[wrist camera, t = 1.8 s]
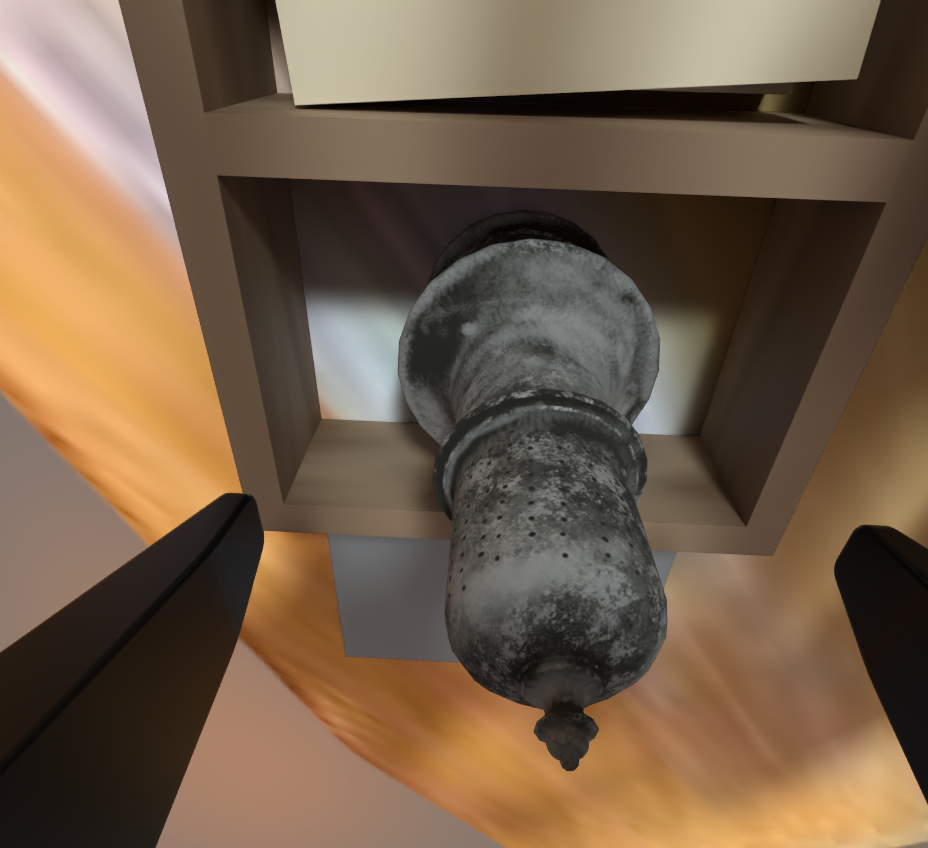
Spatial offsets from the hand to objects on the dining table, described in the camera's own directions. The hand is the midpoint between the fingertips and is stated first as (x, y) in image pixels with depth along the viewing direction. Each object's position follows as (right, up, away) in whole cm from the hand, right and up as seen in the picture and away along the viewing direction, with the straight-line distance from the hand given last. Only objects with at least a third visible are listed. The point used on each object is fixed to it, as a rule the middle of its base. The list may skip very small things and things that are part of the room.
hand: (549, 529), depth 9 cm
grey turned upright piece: (0, +5, +7) cm, 9 cm away
